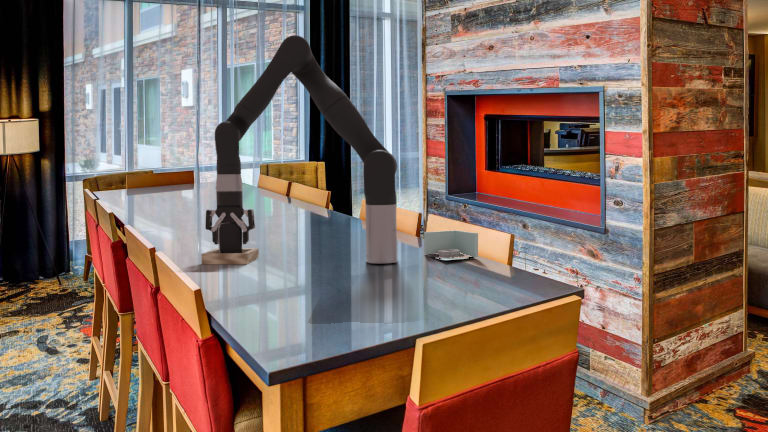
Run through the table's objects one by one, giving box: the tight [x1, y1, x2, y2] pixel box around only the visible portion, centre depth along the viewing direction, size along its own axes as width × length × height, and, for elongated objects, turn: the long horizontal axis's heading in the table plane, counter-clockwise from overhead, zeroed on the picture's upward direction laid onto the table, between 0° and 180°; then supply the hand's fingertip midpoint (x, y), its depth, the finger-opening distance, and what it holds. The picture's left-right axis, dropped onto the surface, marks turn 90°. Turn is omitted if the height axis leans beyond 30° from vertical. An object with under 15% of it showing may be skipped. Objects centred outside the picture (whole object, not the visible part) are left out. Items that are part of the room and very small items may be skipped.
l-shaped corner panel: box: [423, 229, 479, 261], centre depth 192 cm, size 12×12×8 cm
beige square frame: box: [200, 248, 260, 265], centre depth 185 cm, size 13×13×3 cm
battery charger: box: [217, 223, 243, 253], centre depth 185 cm, size 7×4×11 cm, turn 118°
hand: (230, 244), depth 185 cm, fingers open, 8 cm apart
